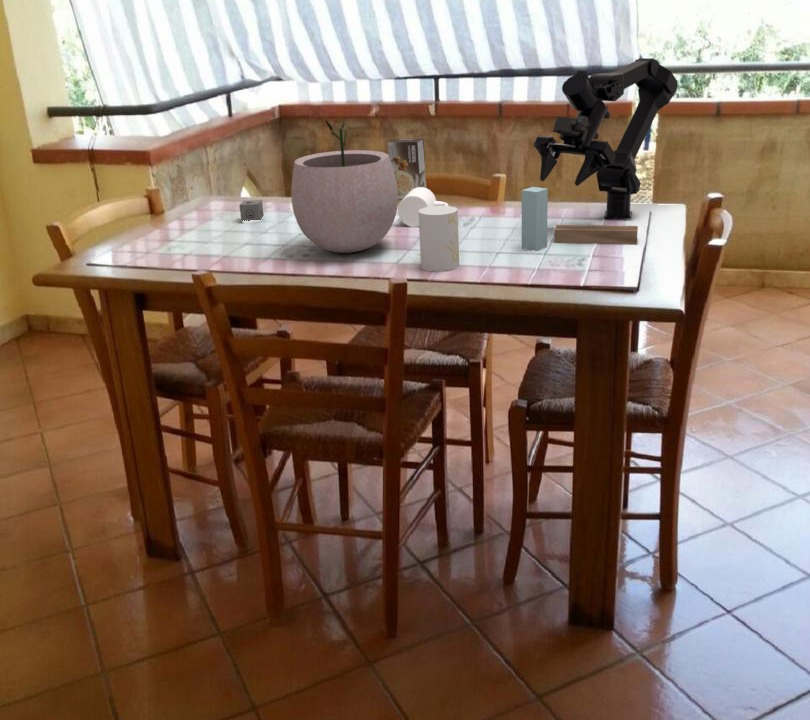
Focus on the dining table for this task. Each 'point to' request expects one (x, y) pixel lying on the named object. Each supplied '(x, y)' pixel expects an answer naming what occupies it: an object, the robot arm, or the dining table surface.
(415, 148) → the coffee box
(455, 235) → the white cylinder
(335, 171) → the plant pot
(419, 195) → the mug
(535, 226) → the post
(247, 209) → the dice cube
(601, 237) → the beam
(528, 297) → the dining table surface
